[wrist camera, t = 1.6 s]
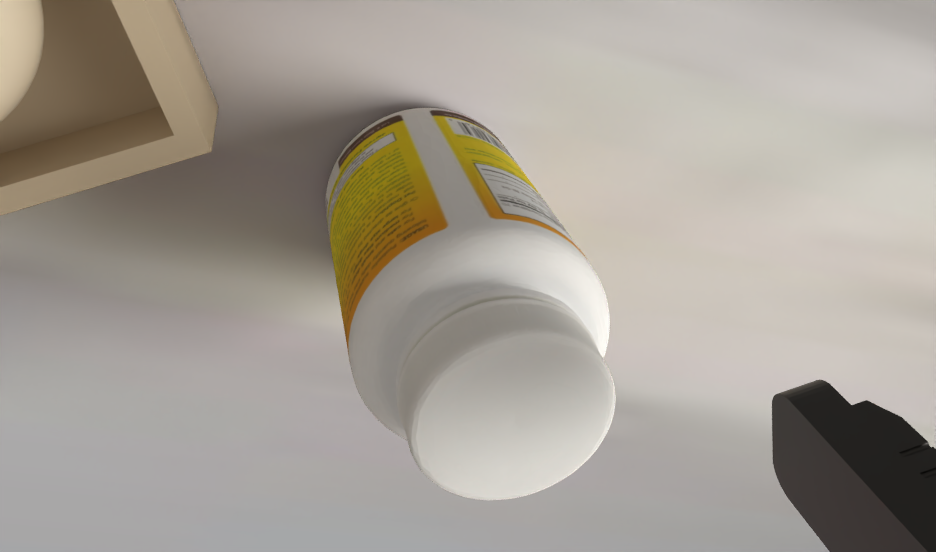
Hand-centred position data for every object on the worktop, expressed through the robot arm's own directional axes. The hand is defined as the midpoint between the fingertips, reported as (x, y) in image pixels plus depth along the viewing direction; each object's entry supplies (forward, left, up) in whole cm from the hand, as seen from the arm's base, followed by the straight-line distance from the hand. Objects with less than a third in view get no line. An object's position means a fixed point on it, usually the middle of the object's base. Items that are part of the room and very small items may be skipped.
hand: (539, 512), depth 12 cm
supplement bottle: (0, 0, -13) cm, 13 cm away
